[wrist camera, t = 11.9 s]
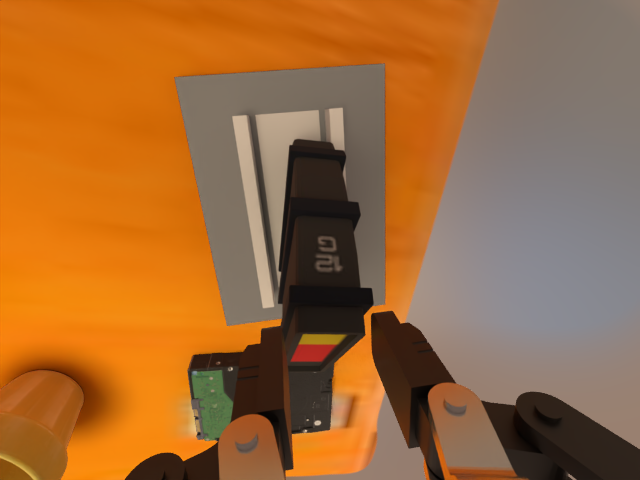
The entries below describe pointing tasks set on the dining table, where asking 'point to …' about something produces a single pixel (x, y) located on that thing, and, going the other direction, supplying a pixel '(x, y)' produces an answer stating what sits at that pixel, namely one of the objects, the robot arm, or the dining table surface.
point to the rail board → (281, 169)
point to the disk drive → (219, 389)
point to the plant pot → (37, 425)
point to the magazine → (319, 260)
